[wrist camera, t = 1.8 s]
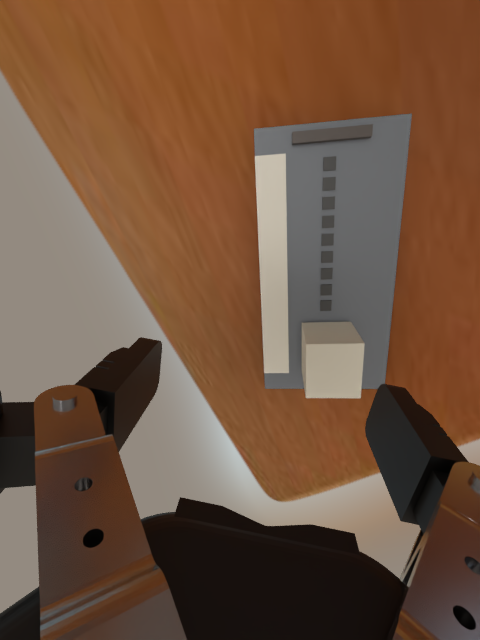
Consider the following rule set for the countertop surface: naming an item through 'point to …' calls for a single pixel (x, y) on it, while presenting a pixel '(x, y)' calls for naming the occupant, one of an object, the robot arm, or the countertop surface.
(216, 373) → the countertop surface
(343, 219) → the board
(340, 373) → the tab
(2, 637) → the robot arm
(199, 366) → the countertop surface
